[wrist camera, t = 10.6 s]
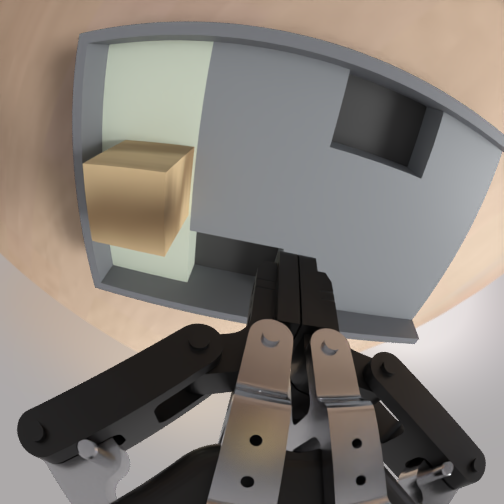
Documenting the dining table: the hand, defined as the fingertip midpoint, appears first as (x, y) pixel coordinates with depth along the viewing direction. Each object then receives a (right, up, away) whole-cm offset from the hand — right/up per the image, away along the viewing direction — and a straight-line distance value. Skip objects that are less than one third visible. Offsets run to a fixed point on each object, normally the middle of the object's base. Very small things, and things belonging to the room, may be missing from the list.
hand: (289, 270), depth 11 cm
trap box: (+2, +6, +9) cm, 11 cm away
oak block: (-8, +6, +6) cm, 12 cm away
